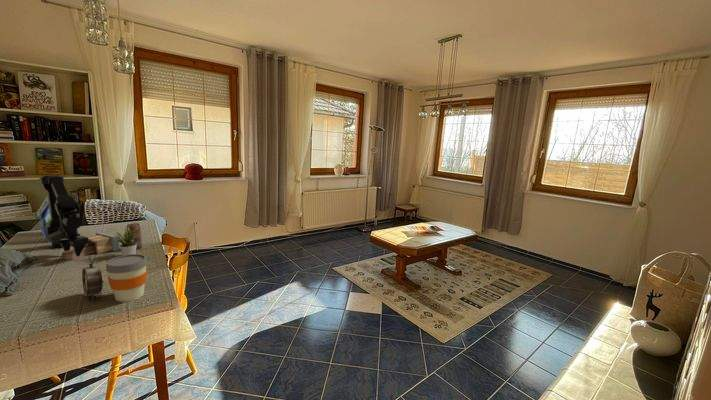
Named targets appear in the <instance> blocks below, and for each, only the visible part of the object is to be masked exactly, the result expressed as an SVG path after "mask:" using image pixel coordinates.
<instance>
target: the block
mask: <svg viewBox="0 0 711 400" xmlns="http://www.w3.org/2000/svg"><path fill="white" fill-rule="evenodd" d="M86 237H87V238H89V242H87V244H86V245H90V244H94V243H95V246H96V252H95V253H96V254H97V255H98V254H99V255H100V254H103V253H106V252H110V251H112V244H111V238H109V237H105V236H101V235H96V234H95V235H92V236H86ZM86 245H85V246H86Z"/></svg>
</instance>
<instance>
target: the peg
mask: <svg viewBox="0 0 711 400" xmlns="http://www.w3.org/2000/svg"><path fill="white" fill-rule="evenodd" d="M94 253H96V246H95V243H94V244H90V245H86V246H84V248H83V250H82V252H81V254H80V256H76V254H75V250H74V248H72V249H70V250H68V251H62V252H61V257H62V260H64V261H72V260H74V259H77V258H81V257H85V256H88V255H90V254H91V255H92V254H94Z"/></svg>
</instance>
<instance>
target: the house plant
mask: <svg viewBox="0 0 711 400" xmlns="http://www.w3.org/2000/svg"><path fill="white" fill-rule="evenodd" d="M137 228H138V227H137ZM137 228H135V229H134V231H133V232H132V231H131V233H130V229H129V226H128V229H127V227H125V226H123V229H124V233H123V235H122V234H121V233H120V232H119V231H118V230H117V231H116V230H113V229H112V231H113V232H114V233H115V235H116V236H118V240H116V241H119V243H121V244H119V250H120V252H121V256H123V255H130V254H137V250H136V246H137V243H134V242H135V241H136V240H137V239H138V238H137V237H135V236H134V235H136V234H137V233H138V232H137V231H138V230H139V229H138V230H137ZM141 229H142V230H143V227H142V228H141V227H140V232H143V231H142V230H141ZM136 230H137V231H136ZM135 231H136V232H137V233H136V232H135ZM135 233H136V234H135ZM134 237H135V238H137V239H136V240H135V241H134V239H135V238H134ZM140 237H141V239H142V238H143V236H142V235H141V236H140ZM133 238H134V239H133ZM116 241H115V242H116ZM132 241H134V242H133V243H132Z"/></svg>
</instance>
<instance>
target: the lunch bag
mask: <svg viewBox="0 0 711 400" xmlns="http://www.w3.org/2000/svg"><path fill="white" fill-rule="evenodd" d="M34 216H35V219H36V220H38V219H39V218H40V221H39V227H40V231H41V234H42V236H43V238H44V240H45V241H46V242H47V243H49V242H48V240H47V239H46V238H45V237H46V227H48V226H47V223H48V222H49V220H50V219H51V216H50V209H49V202H48V195H47V194H46V197H45V198H44V200H43V202H42V204H41V205H40V206H39V208H38V209H37V210H36V211H35V213H34Z"/></svg>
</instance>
